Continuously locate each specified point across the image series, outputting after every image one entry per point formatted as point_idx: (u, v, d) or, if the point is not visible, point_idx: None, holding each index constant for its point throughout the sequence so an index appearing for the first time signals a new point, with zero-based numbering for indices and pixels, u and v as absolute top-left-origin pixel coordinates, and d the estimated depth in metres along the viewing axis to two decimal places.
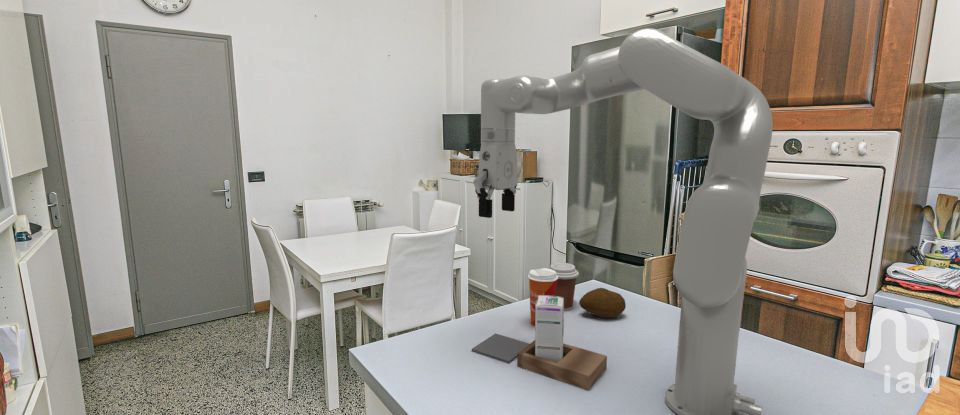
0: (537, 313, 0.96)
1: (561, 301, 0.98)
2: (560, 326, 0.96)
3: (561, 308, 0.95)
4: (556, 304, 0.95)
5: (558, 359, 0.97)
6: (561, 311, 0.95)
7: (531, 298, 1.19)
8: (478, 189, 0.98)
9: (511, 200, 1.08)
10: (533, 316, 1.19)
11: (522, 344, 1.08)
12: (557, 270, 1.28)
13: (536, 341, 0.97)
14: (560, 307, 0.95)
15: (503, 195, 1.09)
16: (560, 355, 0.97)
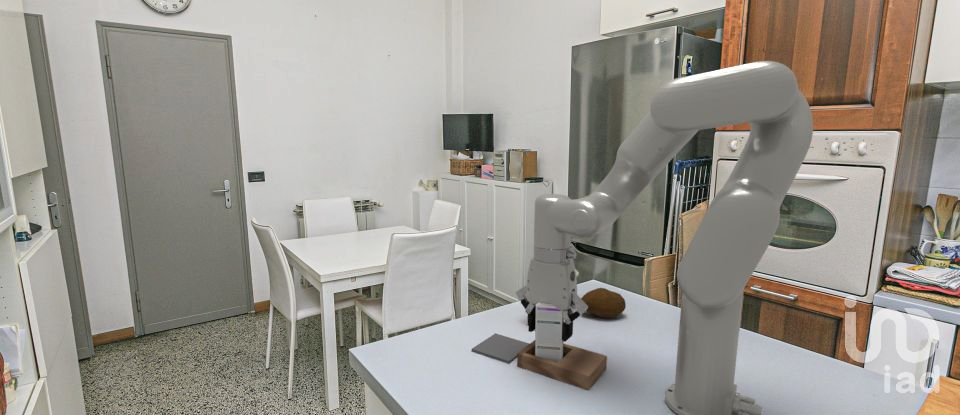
0: (537, 313, 0.96)
1: None
2: (560, 326, 0.96)
3: None
4: None
5: (558, 359, 0.97)
6: (561, 311, 0.95)
7: None
8: (581, 313, 0.94)
9: None
10: None
11: (522, 344, 1.08)
12: None
13: (536, 341, 0.97)
14: None
15: (532, 316, 1.00)
16: (560, 355, 0.97)
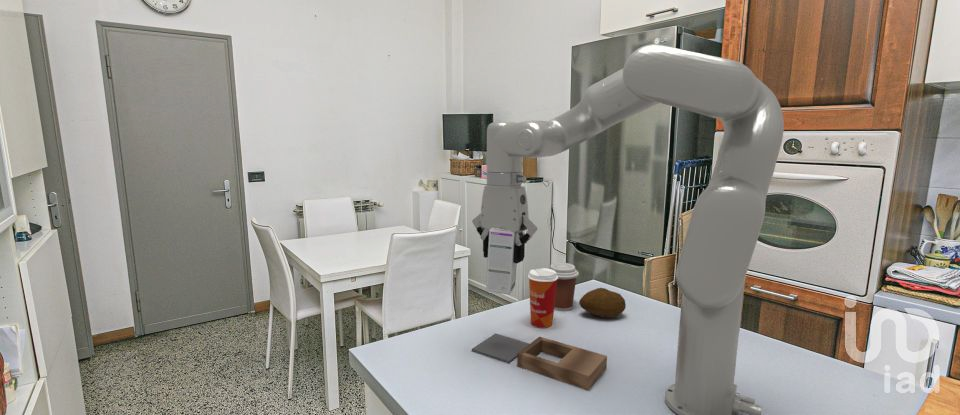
0: (490, 237, 1.00)
1: None
2: (511, 251, 1.00)
3: (513, 233, 0.99)
4: None
5: (507, 283, 1.01)
6: (513, 236, 0.99)
7: (531, 298, 1.19)
8: (531, 235, 0.99)
9: None
10: (533, 316, 1.19)
11: (522, 344, 1.08)
12: (557, 270, 1.28)
13: (488, 264, 1.02)
14: (512, 232, 0.99)
15: (487, 242, 1.04)
16: (510, 279, 1.01)
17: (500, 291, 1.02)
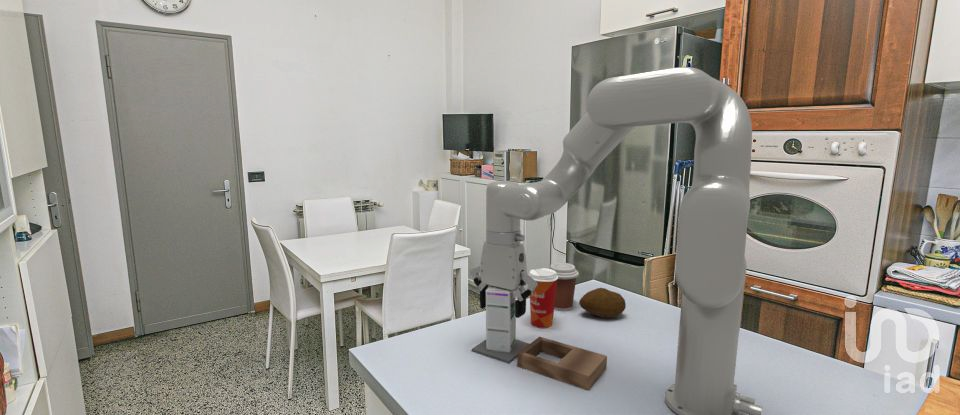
0: (487, 297, 1.03)
1: None
2: (508, 310, 1.02)
3: (508, 293, 1.02)
4: (504, 290, 1.02)
5: (507, 341, 1.04)
6: (509, 296, 1.02)
7: (531, 298, 1.19)
8: (533, 290, 1.00)
9: None
10: (533, 316, 1.19)
11: (522, 344, 1.08)
12: (557, 270, 1.28)
13: (487, 324, 1.04)
14: (508, 292, 1.02)
15: (484, 293, 1.07)
16: (508, 338, 1.03)
17: (500, 349, 1.04)
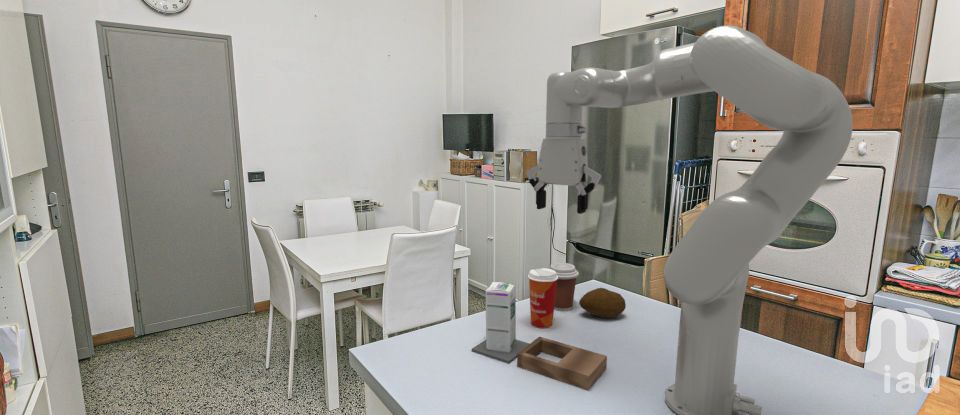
0: (487, 297, 1.03)
1: (511, 287, 1.04)
2: (508, 310, 1.02)
3: (508, 293, 1.02)
4: (504, 290, 1.02)
5: (507, 341, 1.04)
6: (508, 296, 1.02)
7: (531, 298, 1.19)
8: (596, 184, 0.97)
9: (545, 196, 1.06)
10: (533, 316, 1.19)
11: (522, 344, 1.08)
12: (557, 270, 1.28)
13: (487, 324, 1.04)
14: (508, 292, 1.02)
15: (541, 193, 1.04)
16: (508, 338, 1.03)
17: (500, 349, 1.04)
